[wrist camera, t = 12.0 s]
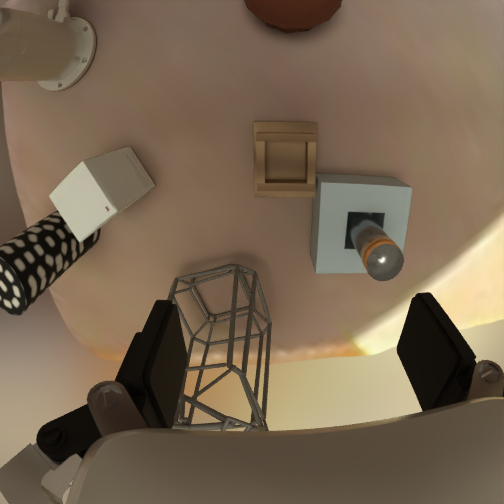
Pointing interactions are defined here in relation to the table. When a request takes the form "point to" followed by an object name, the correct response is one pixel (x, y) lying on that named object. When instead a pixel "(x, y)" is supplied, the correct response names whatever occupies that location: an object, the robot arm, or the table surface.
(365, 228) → the pin
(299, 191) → the mount
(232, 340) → the geometric lantern
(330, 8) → the muffin
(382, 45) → the table surface
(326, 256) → the socket
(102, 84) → the table surface
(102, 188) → the supplement box
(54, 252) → the spotted tube
